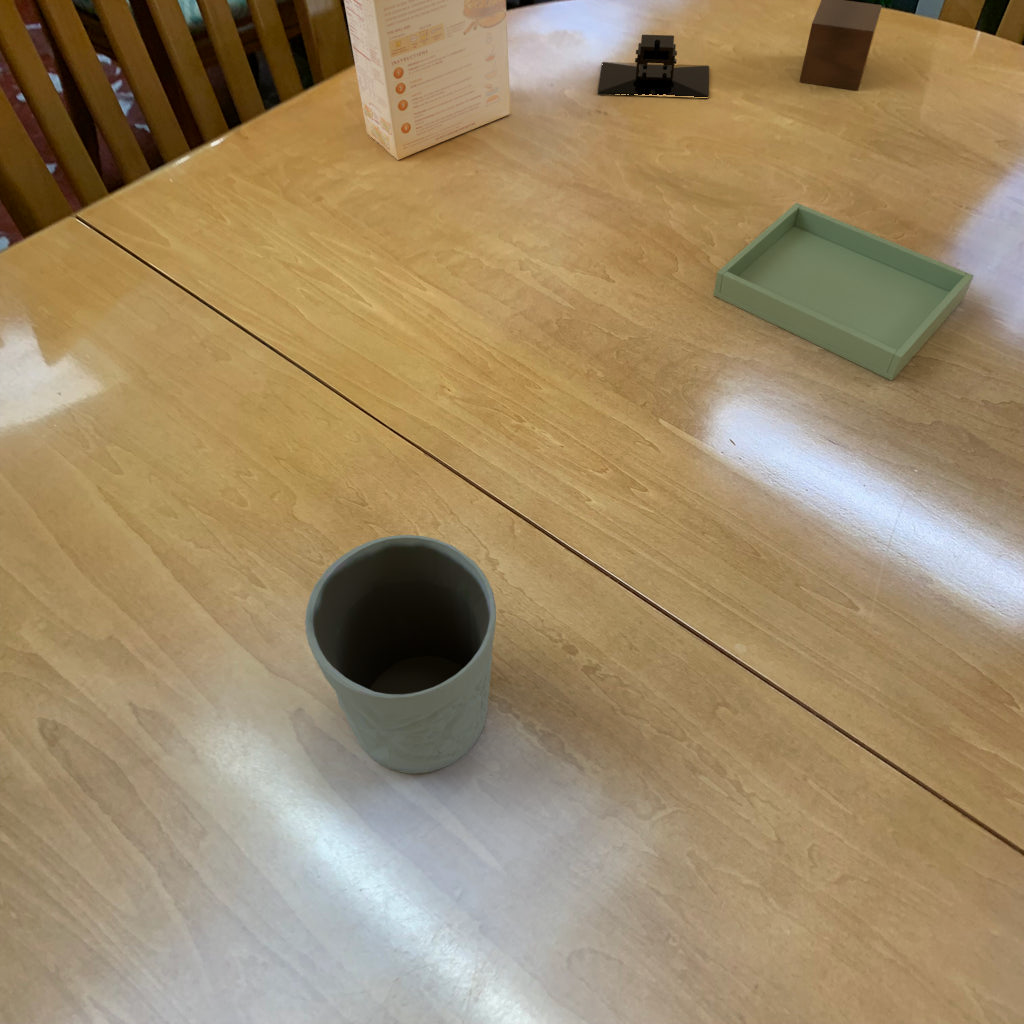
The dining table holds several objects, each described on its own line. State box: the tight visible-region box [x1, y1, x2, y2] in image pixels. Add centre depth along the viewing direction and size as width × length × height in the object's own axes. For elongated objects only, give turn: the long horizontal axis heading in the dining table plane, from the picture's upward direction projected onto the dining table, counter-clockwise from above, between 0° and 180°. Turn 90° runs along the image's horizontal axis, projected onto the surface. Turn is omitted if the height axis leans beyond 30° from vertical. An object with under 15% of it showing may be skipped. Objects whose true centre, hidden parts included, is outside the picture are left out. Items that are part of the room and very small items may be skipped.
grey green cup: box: [304, 534, 497, 774], centre depth 54 cm, size 10×10×12 cm
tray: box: [713, 202, 975, 381], centre depth 81 cm, size 17×13×3 cm
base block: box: [799, 0, 883, 91], centre depth 103 cm, size 6×6×6 cm
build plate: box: [597, 34, 710, 97], centre depth 104 cm, size 12×7×5 cm, turn 82°
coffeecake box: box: [343, 0, 512, 161], centre depth 94 cm, size 15×7×20 cm, turn 126°
